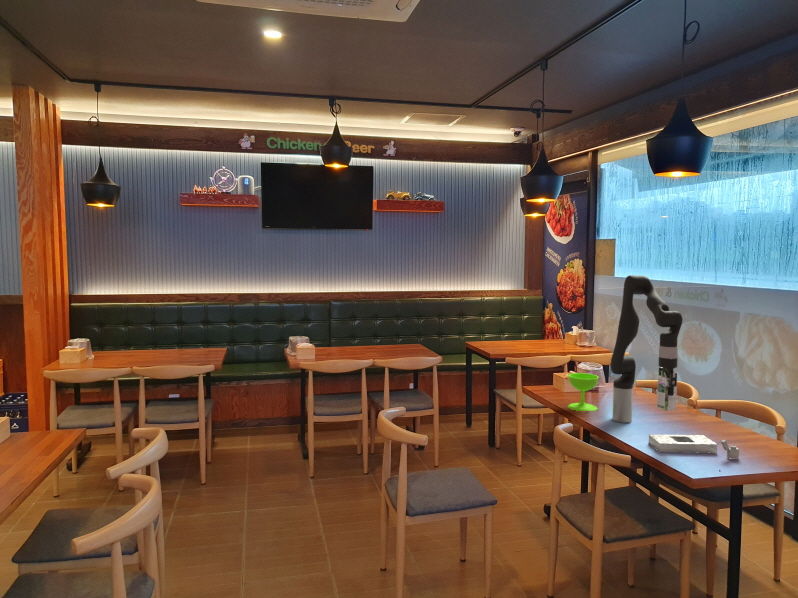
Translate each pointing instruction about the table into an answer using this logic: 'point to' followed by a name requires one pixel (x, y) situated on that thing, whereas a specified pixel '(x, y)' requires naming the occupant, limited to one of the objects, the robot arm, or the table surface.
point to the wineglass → (582, 389)
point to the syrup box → (665, 395)
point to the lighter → (730, 450)
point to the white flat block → (682, 443)
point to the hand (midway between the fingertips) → (667, 393)
